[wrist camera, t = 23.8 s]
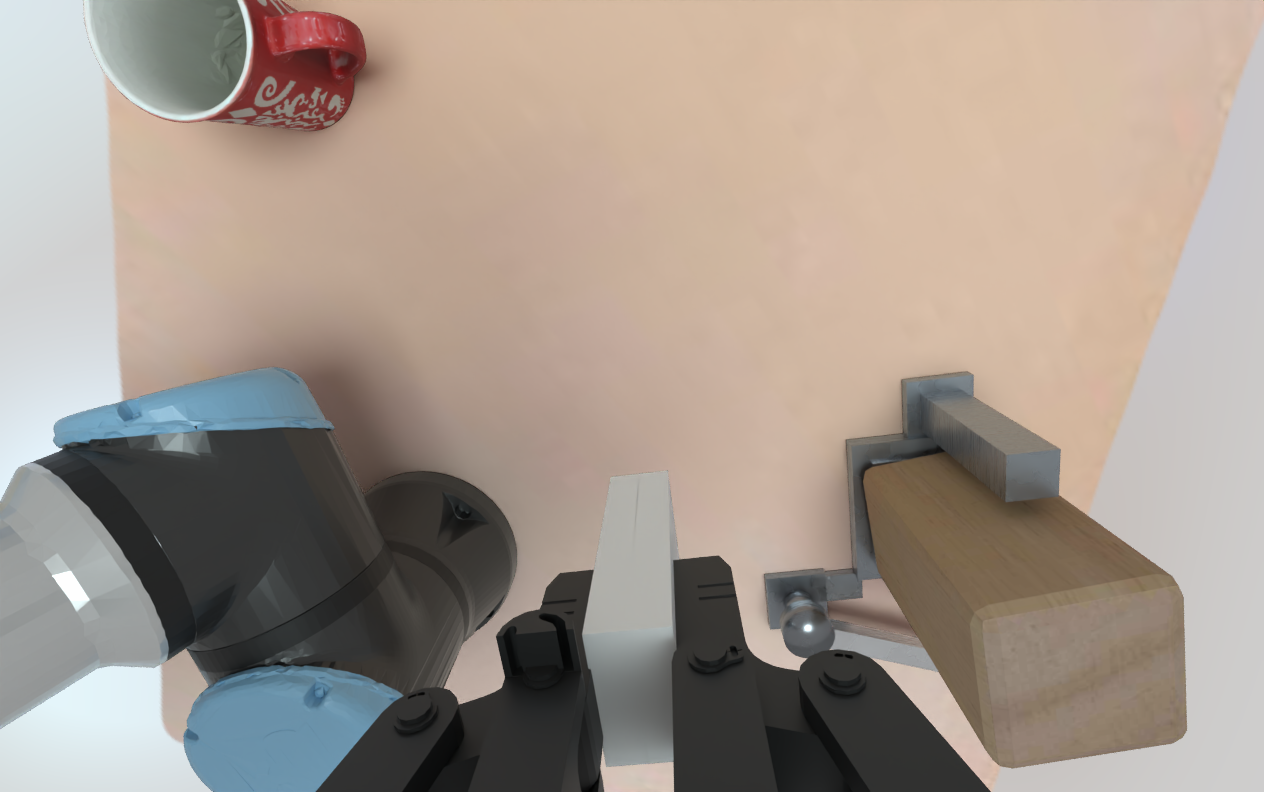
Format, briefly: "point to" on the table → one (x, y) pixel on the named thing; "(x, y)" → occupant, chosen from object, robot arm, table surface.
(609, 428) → the table surface
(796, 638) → the lever
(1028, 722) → the wooden block
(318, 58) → the mug
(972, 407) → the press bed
